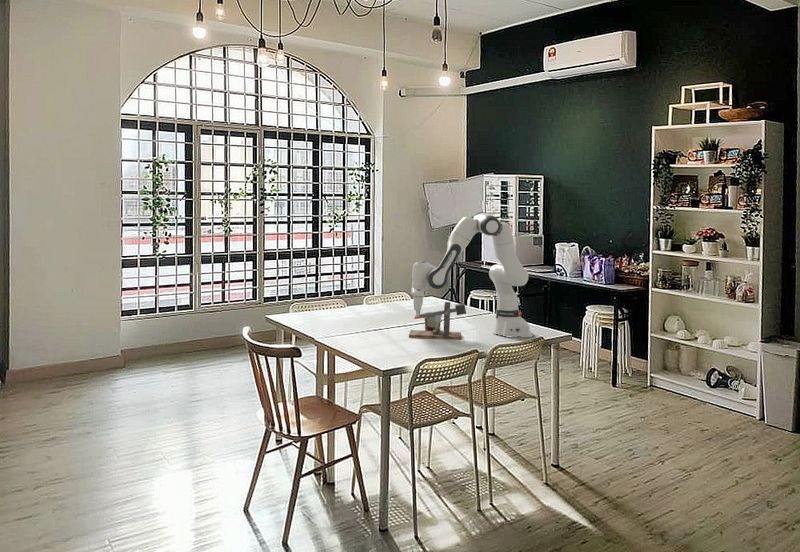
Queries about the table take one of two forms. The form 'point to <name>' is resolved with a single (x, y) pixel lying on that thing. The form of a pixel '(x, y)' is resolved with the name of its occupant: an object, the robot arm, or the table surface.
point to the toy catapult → (438, 329)
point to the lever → (458, 309)
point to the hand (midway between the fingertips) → (418, 315)
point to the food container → (430, 323)
